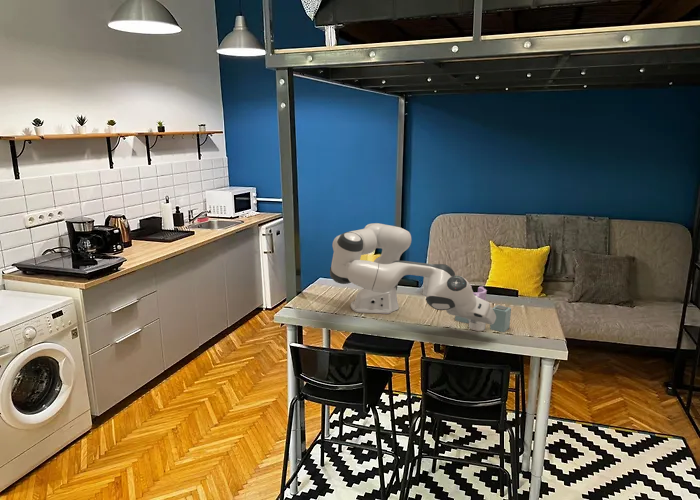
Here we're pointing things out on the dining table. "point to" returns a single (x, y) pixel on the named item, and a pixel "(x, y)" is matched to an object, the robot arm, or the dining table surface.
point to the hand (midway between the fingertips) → (474, 321)
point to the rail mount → (501, 318)
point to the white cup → (477, 326)
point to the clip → (480, 293)
